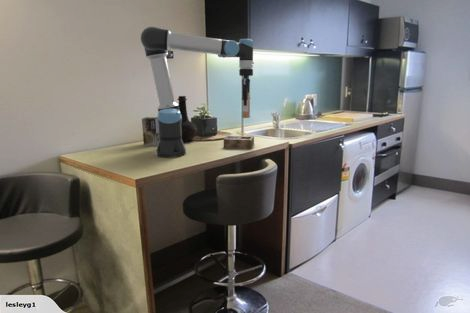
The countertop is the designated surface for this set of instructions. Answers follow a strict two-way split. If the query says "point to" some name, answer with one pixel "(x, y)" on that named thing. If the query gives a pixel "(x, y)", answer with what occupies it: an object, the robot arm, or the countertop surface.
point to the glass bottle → (186, 121)
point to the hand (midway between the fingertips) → (246, 110)
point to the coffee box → (150, 131)
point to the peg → (247, 114)
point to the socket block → (239, 142)
